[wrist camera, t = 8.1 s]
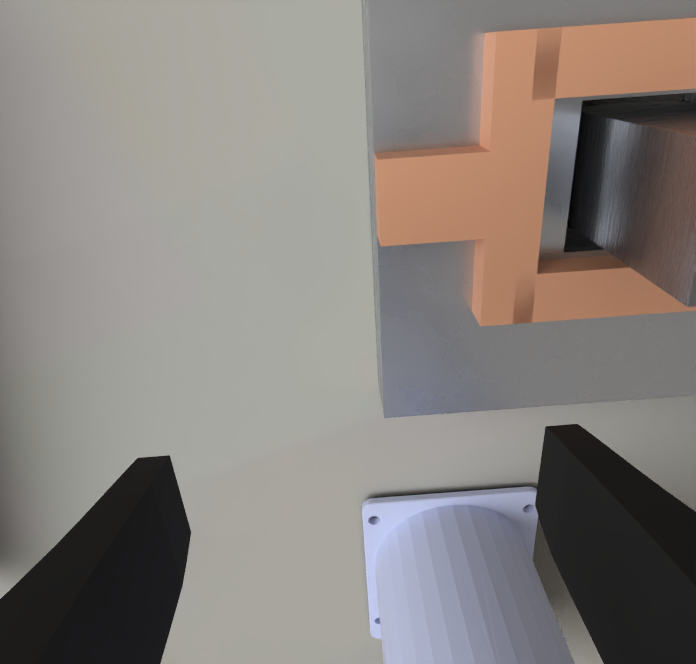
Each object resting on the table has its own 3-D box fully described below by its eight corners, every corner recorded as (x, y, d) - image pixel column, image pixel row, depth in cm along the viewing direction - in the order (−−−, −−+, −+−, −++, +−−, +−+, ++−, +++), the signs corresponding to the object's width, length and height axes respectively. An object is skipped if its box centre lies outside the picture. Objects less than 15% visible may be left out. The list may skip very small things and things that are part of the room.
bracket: (744, 291, 18) (769, 305, 17) (380, 317, 18) (383, 333, 17) (827, 8, 14) (865, 5, 13) (369, 41, 14) (373, 40, 13)
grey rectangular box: (647, 204, 19) (841, 294, 12) (551, 212, 19) (687, 306, 12) (667, 99, 17) (903, 131, 10) (562, 107, 17) (726, 144, 10)
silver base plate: (724, 355, 22) (769, 389, 20) (378, 380, 22) (384, 417, 20) (875, -162, 15) (974, -200, 12) (355, -127, 15) (362, -159, 12)
